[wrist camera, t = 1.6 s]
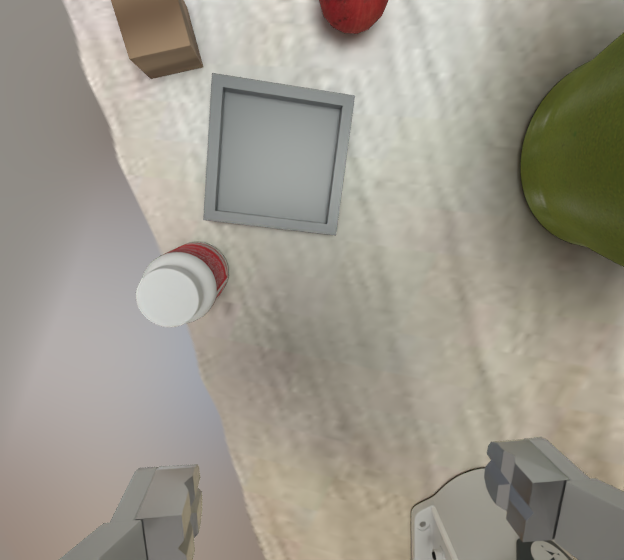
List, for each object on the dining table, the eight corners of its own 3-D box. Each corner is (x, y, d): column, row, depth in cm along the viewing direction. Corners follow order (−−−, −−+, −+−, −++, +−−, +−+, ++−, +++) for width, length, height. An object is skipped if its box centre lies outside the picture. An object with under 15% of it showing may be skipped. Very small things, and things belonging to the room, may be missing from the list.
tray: (332, 233, 38) (335, 235, 36) (207, 218, 37) (203, 219, 35) (350, 101, 35) (354, 95, 33) (216, 80, 34) (212, 72, 32)
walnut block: (203, 67, 34) (190, 45, 29) (151, 79, 34) (129, 58, 29) (187, 8, 33) (171, -26, 28) (133, 19, 33) (107, -12, 28)
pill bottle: (176, 234, 37) (133, 248, 26) (235, 250, 38) (217, 270, 27) (164, 290, 38) (118, 326, 27) (221, 305, 39) (199, 345, 28)
